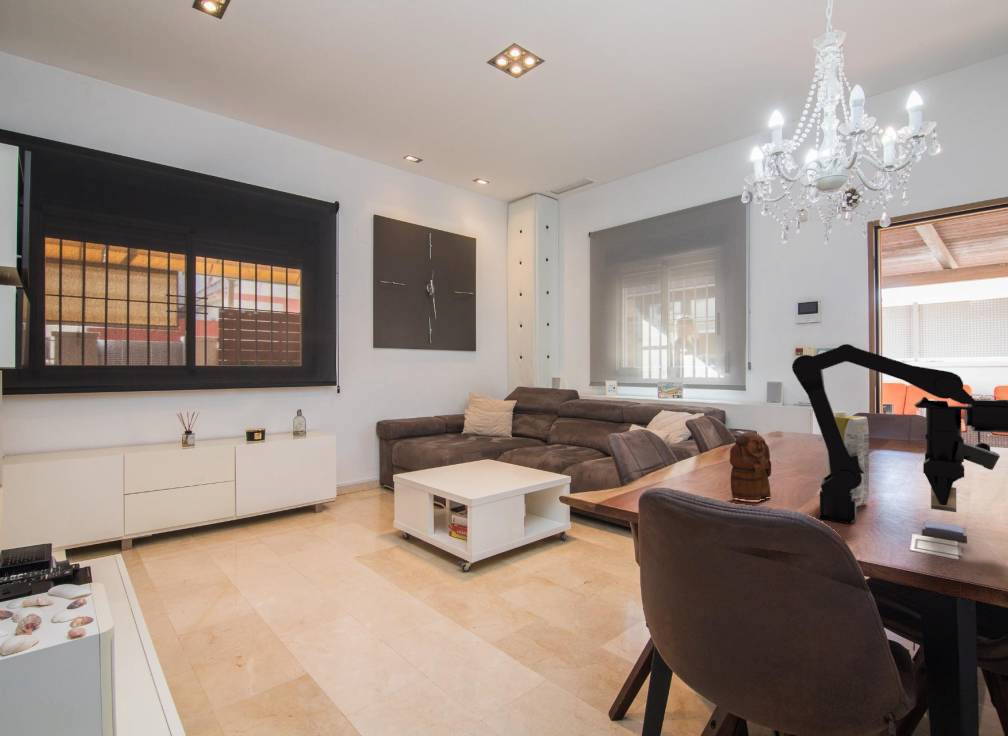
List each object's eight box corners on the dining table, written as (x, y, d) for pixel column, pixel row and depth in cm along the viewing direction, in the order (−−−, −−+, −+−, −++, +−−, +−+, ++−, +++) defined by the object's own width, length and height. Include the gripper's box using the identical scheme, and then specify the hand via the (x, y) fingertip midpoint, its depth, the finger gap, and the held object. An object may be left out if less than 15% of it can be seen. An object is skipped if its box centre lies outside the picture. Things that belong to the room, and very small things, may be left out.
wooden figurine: (749, 505, 130) (748, 435, 130) (727, 499, 135) (727, 432, 135) (776, 498, 135) (776, 432, 135) (754, 493, 141) (754, 430, 141)
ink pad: (922, 534, 106) (922, 526, 106) (922, 526, 112) (922, 519, 112) (966, 541, 102) (966, 534, 102) (965, 533, 107) (965, 525, 107)
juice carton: (839, 497, 136) (839, 409, 136) (872, 504, 129) (872, 412, 129) (821, 502, 132) (820, 411, 132) (854, 509, 125) (853, 413, 125)
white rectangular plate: (910, 550, 97) (910, 549, 97) (912, 534, 106) (912, 533, 106) (961, 560, 92) (961, 558, 92) (959, 542, 101) (959, 541, 101)
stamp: (931, 508, 106) (931, 478, 106) (931, 504, 109) (931, 475, 109) (956, 512, 104) (956, 481, 104) (955, 508, 107) (955, 478, 107)
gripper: (1000, 438, 94) (1000, 520, 94) (992, 428, 108) (992, 500, 108) (923, 433, 102) (923, 509, 102) (925, 424, 116) (925, 492, 116)
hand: (943, 502), depth 107 cm, fingers closed on stamp, 4 cm apart
